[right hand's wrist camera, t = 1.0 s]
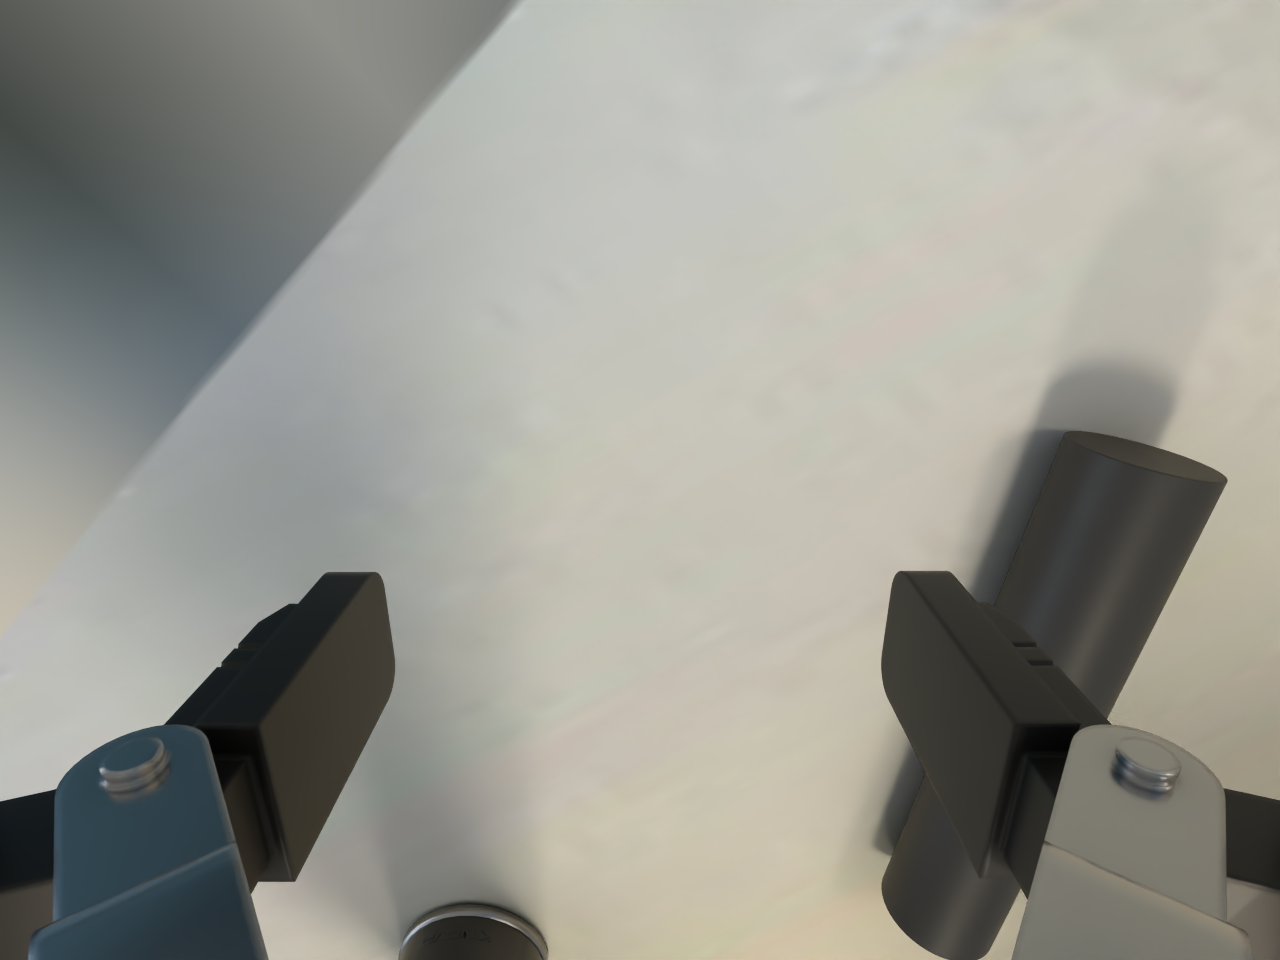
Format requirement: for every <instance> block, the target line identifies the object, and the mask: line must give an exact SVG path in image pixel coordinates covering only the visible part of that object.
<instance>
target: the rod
mask: <svg viewBox="0 0 1280 960" xmlns="http://www.w3.org/2000/svg"><path fill="white" fill-rule="evenodd" d="M1226 483H1227V478H1226V477H1225V476H1224V475H1223V474H1221V473H1220V472H1218V471H1216V470H1215V469H1213V468H1211V467H1208V466H1206V465H1204V464H1202V463H1199V462H1197V461H1194V460H1192V459H1189V458H1186V457H1184V456H1181V455H1178V454H1175V453H1172V452H1169V451H1166V450H1163V449H1159V448H1156V447H1153V446H1149V445H1146V444H1142V443H1138V442H1135V441H1131V440H1127V439H1122V438H1118V437H1113V436H1109V435H1103V434H1098V433H1091V432H1083V431H1070V432H1066V433H1065V434H1064V437H1063V439H1062V441H1061V444H1060V446H1059V449H1058V451H1057V454H1056V456H1055V459H1054V461H1053V463H1052V466H1051V468H1050V471H1049V473H1048V476H1047V478H1046V481H1045V483H1044V485H1043V488H1042V490H1041V493H1040V495H1039V498H1038V500H1037V503H1036V505H1035V507H1034V510H1033V512H1032V515H1031V517H1030V520H1029V522H1028V525H1027V527H1026V529H1025V532H1024V534H1023V537H1022V539H1021V542H1020V544H1019V547H1018V549H1017V551H1016V554H1015V556H1014V559H1013V561H1012V564H1011V566H1010V569H1009V571H1008V573H1007V576H1006V578H1005V581H1004V583H1003V586H1002V588H1001V591H1000V593H999V595H998V598H997V600H996V603H995V605H994V608H996V609H998V610H999V611H1001V612H1003V613H1004V614H1006V615H1008V616H1009V617H1011V618H1013V619H1014V620H1016V621H1017V622H1018V623H1019V624H1020V625H1021V626H1022V627H1023V628H1024V630H1025V631H1026V632H1027V633H1028V634H1029V635H1030V636H1031V637H1032V638H1033V639H1034V640H1035V642H1036V645H1037V647H1041V648H1042V649H1043V650H1044V651H1045V652H1046V654H1047V655H1048V656H1049V657H1050V658H1051V659H1052V660H1053V665H1054V666H1058V667H1059V668H1060V669H1061V670H1062V671H1063V672H1064V673H1065V674H1066V675H1067V676H1068V678H1069V679H1070V680H1071V681H1072V682H1073V683H1074V684H1075V685H1076V686H1077V687H1078V689H1079V690H1080V691H1081V692H1082V693H1083V694H1084V695H1085V696H1086V697H1087V698H1088V699H1089V701H1090V702H1091V703H1092V704H1093V705H1094V706H1095V707H1096V708H1097V709H1098V710H1099V711H1100V713H1101V714H1102V715H1103V716H1104V717H1105V718H1106V719H1107V718H1108V716H1109V714H1110V712H1111V710H1112V708H1113V706H1114V704H1115V702H1116V700H1117V698H1118V696H1119V694H1120V692H1121V690H1122V688H1123V686H1124V684H1125V682H1126V680H1127V678H1128V676H1129V674H1130V673H1131V671H1132V669H1133V667H1134V665H1135V663H1136V661H1137V659H1138V657H1139V655H1140V653H1141V651H1142V649H1143V647H1144V645H1145V643H1146V641H1147V639H1148V637H1149V635H1150V633H1151V631H1152V629H1153V627H1154V625H1155V623H1156V621H1157V619H1158V617H1159V615H1160V613H1161V611H1162V609H1163V608H1164V606H1165V604H1166V602H1167V600H1168V598H1169V596H1170V594H1171V592H1172V590H1173V588H1174V586H1175V584H1176V582H1177V580H1178V578H1179V576H1180V574H1181V572H1182V570H1183V568H1184V566H1185V564H1186V562H1187V560H1188V558H1189V556H1190V554H1191V552H1192V550H1193V548H1194V546H1195V544H1196V543H1197V541H1198V539H1199V537H1200V535H1201V533H1202V531H1203V529H1204V527H1205V525H1206V523H1207V521H1208V519H1209V517H1210V515H1211V513H1212V511H1213V509H1214V507H1215V505H1216V503H1217V501H1218V499H1219V497H1220V495H1221V493H1222V491H1223V489H1224V487H1225V485H1226ZM1020 889H1021V887H1020V885H1019V884H1018V882H1017V880H1016V879H979V877H978V875H977V873H976V871H975V869H974V867H973V865H972V863H971V861H970V860H969V858H968V856H967V854H966V852H965V850H964V848H963V846H962V844H961V842H960V840H959V838H958V836H957V834H956V832H955V830H954V828H953V826H952V824H951V822H950V820H949V818H948V816H947V814H946V812H945V810H944V808H943V806H942V804H941V802H940V800H939V798H938V796H937V794H936V792H935V790H934V788H933V787H932V785H931V783H930V781H929V779H928V777H927V775H926V774H925V776H924V779H923V781H922V784H921V786H920V788H919V791H918V793H917V796H916V798H915V801H914V803H913V806H912V808H911V810H910V813H909V815H908V818H907V820H906V823H905V825H904V828H903V830H902V832H901V835H900V837H899V840H898V842H897V845H896V847H895V850H894V852H893V854H892V857H891V859H890V862H889V864H888V867H887V869H886V872H885V874H884V876H883V879H882V895H883V899H884V902H885V905H886V907H887V909H888V911H889V913H890V915H891V916H892V918H893V919H894V921H895V922H896V923H897V925H898V926H899V927H900V928H901V929H902V930H903V931H904V933H905V934H906V935H908V936H909V937H910V938H911V939H912V940H913V941H914V942H916V943H917V944H918V945H920V946H921V947H923V948H924V949H926V950H927V951H929V952H931V953H933V954H935V955H937V956H940V957H942V958H945V959H948V960H978V959H980V958H982V957H983V956H985V955H986V954H987V953H988V951H989V950H990V948H991V946H992V944H993V942H994V940H995V938H996V936H997V934H998V932H999V930H1000V929H1001V927H1002V925H1003V923H1004V921H1005V919H1006V917H1007V915H1008V913H1009V911H1010V909H1011V907H1012V905H1013V903H1014V901H1015V899H1016V897H1017V895H1018V893H1019V891H1020Z"/></svg>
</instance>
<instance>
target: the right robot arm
mask: <svg viewBox="0 0 1280 960" xmlns="http://www.w3.org/2000/svg"><path fill="white" fill-rule="evenodd" d="M238 645H239V646H238V649H234V650H233V651H232V652H231V653H230V654H229V655H228V656H227V657H226V658H225V659H224V660H223V661H222V665H221V667H217V668H216V669H215V670H214V671H213V672H212V673H211V674H210V676H209V677H208V678H207V679H206V680H205V681H204V682H203V683H202V684H201V685H200V686H199V687H198V689H197V690H196V691H195V692H194V693H193V694H192V695H191V696H190V697H189V698H188V699H187V700H186V702H185V703H184V704H183V705H182V706H181V707H180V708H179V709H178V710H177V711H176V712H175V713H174V715H173V716H172V717H171V718H170V719H169V720H168V721H167V722H166V723H165V724H164V725H162V726H155V727H150V728H146V729H142V730H138V731H135V732H132V733H129V734H126V735H124V736H121V737H119V738H117V739H114V740H112V741H110V742H108V743H106V744H104V745H103V746H101V747H99V748H97V749H96V750H94V751H92V752H91V753H90V754H88V755H87V756H85V757H84V758H82V759H81V760H80V761H79V762H78V763H76V764H75V765H74V766H73V767H72V768H71V769H70V770H69V771H68V772H67V773H66V774H65V776H64V777H63V778H62V780H61V781H60V783H59V785H58V787H57V789H55V790H51V791H47V792H42V793H37V794H33V795H28V796H24V797H19V798H14V799H10V800H5V801H1V802H0V960H269V959H268V955H267V952H266V948H265V945H264V941H263V937H262V934H261V930H260V926H259V923H258V919H257V915H256V912H255V908H254V904H253V901H252V897H251V893H252V892H253V890H254V888H255V886H256V885H257V883H258V882H295V881H296V879H297V877H298V875H299V873H300V871H301V869H302V867H303V865H304V863H305V861H306V859H307V857H308V856H309V854H310V852H311V850H312V848H313V846H314V844H315V842H316V840H317V838H318V836H319V834H320V832H321V830H322V828H323V826H324V824H325V822H326V820H327V818H328V817H329V815H330V813H331V811H332V809H333V807H334V805H335V803H336V801H337V799H338V797H339V795H340V793H341V791H342V789H343V787H344V785H345V783H346V781H347V780H348V778H349V776H350V774H351V772H352V770H353V768H354V766H355V764H356V762H357V760H358V758H359V756H360V754H361V752H362V750H363V748H364V746H365V744H366V742H367V741H368V739H369V737H370V735H371V733H372V731H373V729H374V727H375V725H376V723H377V721H378V719H379V717H380V715H381V713H382V711H383V709H384V707H385V705H386V704H387V702H388V699H389V697H390V694H391V691H392V688H393V683H394V675H395V657H394V649H393V643H392V636H391V629H390V622H389V615H388V608H387V601H386V595H385V588H384V583H383V580H382V578H381V576H380V575H379V574H378V573H376V572H327V573H325V574H324V575H323V576H322V577H321V578H320V579H319V580H318V582H317V583H316V584H315V585H314V586H313V587H312V589H311V590H310V591H309V592H308V593H307V594H306V595H305V597H304V598H303V599H302V600H301V601H300V602H299V604H288V605H287V606H285V607H283V608H282V609H280V610H278V611H277V612H275V613H273V614H272V615H270V616H268V617H267V618H265V619H263V620H262V621H260V622H258V624H257V625H256V626H255V627H254V628H253V629H252V630H251V631H250V632H249V633H248V634H247V635H246V637H245V638H244V639H243V640H242V641H241V642H240V643H239V644H238ZM881 670H882V679H883V685H884V689H885V692H886V695H887V698H888V700H889V702H890V704H891V706H892V708H893V710H894V712H895V714H896V716H897V717H898V719H899V721H900V723H901V725H902V727H903V729H904V731H905V733H906V735H907V737H908V739H909V741H910V743H911V745H912V747H913V749H914V751H915V753H916V755H917V757H918V759H919V761H920V763H921V765H922V767H923V769H924V771H925V773H926V775H927V777H928V779H929V781H930V783H931V785H932V787H933V788H934V790H935V792H936V794H937V796H938V798H939V800H940V802H941V804H942V806H943V808H944V810H945V812H946V814H947V816H948V818H949V820H950V822H951V824H952V826H953V828H954V830H955V832H956V834H957V836H958V838H959V840H960V842H961V844H962V846H963V848H964V850H965V852H966V854H967V856H968V858H969V860H970V861H971V863H972V865H973V867H974V869H975V871H976V873H977V875H978V877H979V879H1016V880H1017V882H1018V884H1019V885H1020V887H1021V889H1022V891H1023V892H1024V894H1025V896H1026V898H1027V900H1028V901H1027V904H1026V908H1025V912H1024V915H1023V919H1022V923H1021V926H1020V930H1019V934H1018V937H1017V941H1016V945H1015V948H1014V952H1013V955H1012V959H1011V960H1280V800H1275V799H1271V798H1266V797H1262V796H1257V795H1252V794H1248V793H1243V792H1238V791H1234V790H1229V789H1225V788H1223V787H1222V785H1221V783H1220V781H1219V780H1218V778H1217V777H1216V776H1215V774H1214V773H1213V772H1212V771H1211V770H1210V769H1209V768H1208V767H1207V766H1206V765H1205V764H1204V763H1202V762H1201V761H1200V760H1199V759H1198V758H1196V757H1195V756H1193V755H1192V754H1190V753H1189V752H1188V751H1186V750H1184V749H1183V748H1181V747H1179V746H1177V745H1176V744H1174V743H1172V742H1170V741H1168V740H1166V739H1163V738H1161V737H1159V736H1156V735H1154V734H1151V733H1148V732H1145V731H1142V730H1138V729H1134V728H1130V727H1125V726H1118V725H1111V723H1110V722H1109V721H1108V720H1107V719H1106V718H1105V717H1104V716H1103V715H1102V714H1101V713H1100V711H1099V710H1098V709H1097V708H1096V707H1095V706H1094V705H1093V704H1092V703H1091V702H1090V701H1089V699H1088V698H1087V697H1086V696H1085V695H1084V694H1083V693H1082V692H1081V691H1080V690H1079V689H1078V687H1077V686H1076V685H1075V684H1074V683H1073V682H1072V681H1071V680H1070V679H1069V678H1068V676H1067V675H1066V674H1065V673H1064V672H1063V671H1062V670H1061V669H1060V668H1059V667H1058V666H1054V665H1053V660H1052V659H1051V658H1050V657H1049V656H1048V655H1047V654H1046V652H1045V651H1044V650H1043V649H1042V648H1041V647H1037V645H1036V642H1035V640H1034V639H1033V638H1032V637H1031V636H1030V635H1029V634H1028V633H1027V632H1026V631H1025V630H1024V628H1023V627H1022V626H1021V625H1020V624H1019V623H1018V622H1017V621H1016V620H1014V619H1013V618H1011V617H1009V616H1008V615H1006V614H1004V613H1003V612H1001V611H999V610H998V609H996V608H994V607H993V606H991V605H989V604H988V603H977V602H976V601H975V599H974V598H973V597H972V596H971V595H970V594H969V592H968V591H967V590H966V589H965V588H964V587H963V585H962V584H961V583H960V582H959V581H958V580H957V578H956V577H955V576H954V575H953V574H952V573H951V572H949V571H899V572H898V573H897V574H896V575H895V577H894V579H893V583H892V588H891V594H890V601H889V608H888V615H887V622H886V629H885V636H884V643H883V650H882V658H881ZM399 960H548V953H547V949H546V946H545V943H544V941H543V940H542V938H541V936H540V935H539V934H538V932H537V931H536V930H535V929H534V928H533V927H532V926H531V925H529V924H528V923H527V922H526V921H524V920H523V919H521V918H519V917H518V916H516V915H514V914H512V913H509V912H507V911H504V910H501V909H498V908H494V907H490V906H484V905H473V904H465V905H454V906H448V907H444V908H441V909H438V910H435V911H433V912H430V913H428V914H427V915H425V916H423V917H422V918H420V919H419V920H418V921H416V922H415V923H414V924H413V925H412V926H411V927H410V929H409V930H408V932H407V933H406V935H405V938H404V940H403V943H402V946H401V949H400V953H399Z"/></svg>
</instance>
